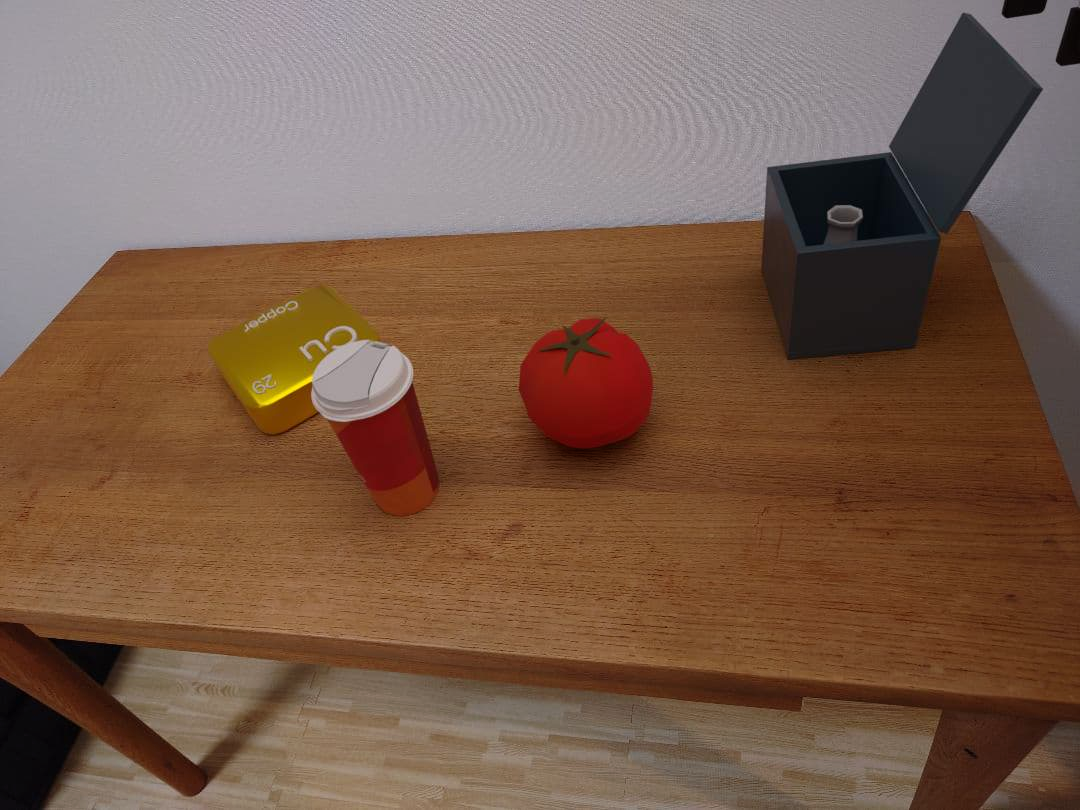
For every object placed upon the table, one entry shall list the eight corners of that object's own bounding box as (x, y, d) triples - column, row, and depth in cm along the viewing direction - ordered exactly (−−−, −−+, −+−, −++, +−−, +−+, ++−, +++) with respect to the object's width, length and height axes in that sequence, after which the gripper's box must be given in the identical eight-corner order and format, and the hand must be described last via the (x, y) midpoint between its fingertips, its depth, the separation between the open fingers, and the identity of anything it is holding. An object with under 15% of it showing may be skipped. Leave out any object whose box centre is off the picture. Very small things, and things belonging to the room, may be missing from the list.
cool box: (787, 359, 77) (797, 253, 69) (761, 269, 88) (766, 166, 79) (915, 348, 76) (941, 237, 67) (873, 257, 86) (891, 151, 78)
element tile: (336, 308, 94) (323, 275, 91) (397, 369, 85) (384, 335, 82) (218, 370, 89) (199, 338, 86) (268, 443, 80) (249, 409, 77)
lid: (1033, 86, 58) (1043, 88, 58) (962, 12, 68) (971, 14, 69) (938, 232, 67) (947, 233, 67) (888, 146, 77) (896, 148, 77)
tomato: (667, 391, 77) (662, 299, 69) (641, 482, 69) (632, 391, 62) (549, 377, 81) (532, 289, 73) (512, 463, 73) (489, 375, 65)
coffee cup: (394, 446, 77) (345, 327, 66) (468, 468, 74) (428, 345, 63) (344, 513, 72) (282, 395, 61) (420, 539, 69) (368, 419, 58)
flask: (809, 271, 85) (818, 188, 78) (880, 286, 82) (896, 199, 75) (786, 312, 81) (793, 228, 74) (859, 329, 78) (874, 242, 71)
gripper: (1281, -232, 44) (1160, 75, 56) (1120, -266, 56) (1049, -8, 68) (1136, -206, 45) (1047, 91, 57) (1008, -245, 57) (957, 6, 69)
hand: (1048, 37), depth 63 cm, fingers open, 9 cm apart
